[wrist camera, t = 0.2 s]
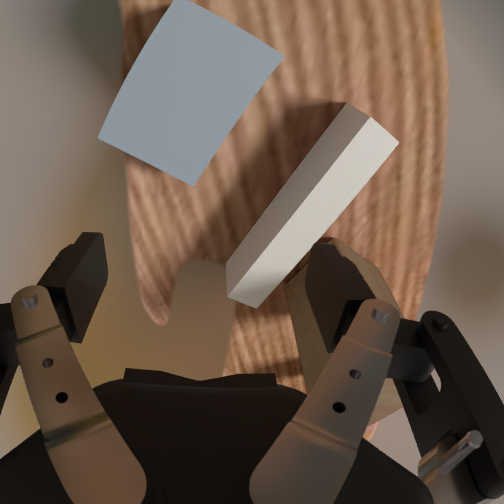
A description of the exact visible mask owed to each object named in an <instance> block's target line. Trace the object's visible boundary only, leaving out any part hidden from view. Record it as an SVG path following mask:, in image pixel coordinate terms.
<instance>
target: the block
mask: <svg viewBox="0 0 504 504" xmlns="http://www.w3.org/2000/svg"><path fill="white" fill-rule="evenodd" d="M284 57H285V56H284V55H282V54H281V53H279V52H278V51H276V50H275V49H273V48H272V47H270V46H269V45H267V44H265V43H264V42H262V41H261V40H259V39H257V38H256V37H254V36H253V35H251V34H249V33H248V32H246V31H244V30H243V29H241V28H239V27H237V26H236V25H234V24H232V23H230V22H229V21H227V20H225V19H223V18H221V17H219V16H218V15H216V14H214V13H212V12H210V11H208V10H206V9H204V8H202V7H200V6H198V5H196V4H194V3H192V2H190V1H188V0H174V1H173V2H172V4H171V5H170V7H169V8H168V10H167V11H166V13H165V14H164V15H163V17H162V18H161V20H160V22H159V23H158V25H157V26H156V28H155V29H154V31H153V32H152V34H151V36H150V37H149V39H148V40H147V42H146V44H145V45H144V47H143V49H142V50H141V52H140V54H139V56H138V57H137V59H136V61H135V63H134V64H133V66H132V68H131V70H130V72H129V73H128V75H127V77H126V79H125V81H124V83H123V85H122V87H121V89H120V91H119V93H118V95H117V96H116V99H115V101H114V103H113V105H112V107H111V109H110V111H109V113H108V115H107V117H106V120H105V122H104V124H103V126H102V129H101V131H100V133H99V135H98V139H100V140H102V141H104V142H106V143H108V144H110V145H112V146H114V147H116V148H118V149H120V150H122V151H124V152H126V153H128V154H130V155H132V156H134V157H136V158H138V159H140V160H142V161H144V162H146V163H148V164H150V165H152V166H154V167H156V168H158V169H160V170H162V171H164V172H166V173H168V174H170V175H172V176H174V177H176V178H177V179H179V180H181V181H183V182H185V183H187V184H189V185H191V186H193V187H194V185H195V184H196V182H197V180H198V179H199V177H200V176H201V174H202V173H203V171H204V169H205V168H206V166H207V165H208V163H209V162H210V160H211V159H212V157H213V156H214V154H215V153H216V151H217V150H218V148H219V147H220V145H221V144H222V142H223V141H224V139H225V138H226V136H227V135H228V133H229V132H230V130H231V129H232V128H233V126H234V125H235V123H236V122H237V120H238V119H239V117H240V116H241V115H242V113H243V112H244V110H245V109H246V108H247V106H248V105H249V103H250V102H251V101H252V99H253V98H254V96H255V95H256V94H257V92H258V91H259V90H260V88H261V87H262V86H263V84H264V83H265V82H266V80H267V79H268V78H269V76H270V75H271V74H272V72H273V71H274V70H275V68H276V67H277V66H278V64H279V63H280V62H281V60H282V59H283V58H284Z"/></svg>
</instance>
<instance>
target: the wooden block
mask: <svg viewBox="0 0 504 504" xmlns="http://www.w3.org/2000/svg"><path fill="white" fill-rule="evenodd" d="M328 243H331V244H334V245H335V246H336V248H337V249H338V251H339V253H340V254H341V256H343V257H347V258H348V259H349V260H351V261H352V262H353V263H354V264H355V265H356V266H357V268H358V270H359V271H360V274H362V276H363V277H364V280H365V281H366V282H367V284H368V285H369V287H370V288H371V290H372V292H373V293H374V295H375V297H376V298H377V299H380V300H383V301H386V302H388V303H390V304H391V305H393V306H394V307H395V308H396V309H397V310H398V311H399V313H400V316H401V318H403V319H405V318H404V316H403V314H402V312H401V310H400V308H399V306H398V304H397V302H396V300H395V298H394V297H393V295H392V293H391V291H390V289H389V287H388V285H387V283H386V281H385V279H384V278H383V276H382V274H381V272H380V270H379V268H378V267H376V266H375V265H373V264H372V263H371V262H369V261H368V260H366V259H365V258H363V257H362V256H360V255H359V254H358V253H356V252H355V251H353V250H352V249H350V248H349V247H347V246H346V245H344V244H343V243H341V242H340V241H339V240H337V239H335V238H332V239H331V240H330V241H329V242H328ZM308 263H309V262H308ZM308 263H307V264H306V265H305V266H304V267H303V268H302V269H301V270H300V271H299V272H298V273H297V274H296V275H295V276H294V277H293V278H292V279H291V280H290V281H289V282H288V283H287V284H286V285H285V292H286V296H287V301H288V305H289V310H290V314H291V319H292V324H293V328H294V333H295V338H296V342H297V347H298V352H299V357H300V362H301V366H302V371H303V376H304V381H305V386H306V391H307V395H308V394H309V392H310V391H311V389H312V388H313V386H314V384H315V383H316V381H317V379H318V378H319V376H320V374H321V373H322V371H323V369H324V368H325V366H326V364H327V363H328V361H329V359H330V357H331V356H332V354H333V353H327V350H326V347H325V344H324V342H323V339H322V336H321V333H320V330H319V328H318V325H317V322H316V319H315V317H314V314H313V311H312V308H311V306H310V303H309V300H308V297H307V295H306V292H305V276H306V272H307V267H308ZM402 407H403V405H402V402H401V400H400V397H399V394H398V392H397V389H396V387H395V384H394V382H393V379H391V378H385V381H384V384H383V386H382V389H381V392H380V395H379V397H378V400H377V403H376V405H375V408H374V410H373V413H372V415H371V418H370V420H369V423H368V425H367V426H370V425H372V424H374V423H376V422H378V421H379V420H381V419H383V418H385V417H387V416H388V415H390V414H392V413H394V412H395V411H397V410H398V409H400V408H402Z"/></svg>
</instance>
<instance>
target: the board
mask: <svg viewBox="0 0 504 504" xmlns="http://www.w3.org/2000/svg"><path fill="white" fill-rule="evenodd" d="M398 144H399V142H398V141H397V140H396V139H395V138H394V137H393V136H392V135H391V134H389V133H388V132H387V131H386V130H385V129H384V128H383V127H382V126H380V125H379V124H378V123H377V122H376V121H375V120H374V119H372V118H371V117H370V116H368V115H367V114H365V113H363V112H362V111H360V110H358V109H357V108H355V107H354V106H352V105H350V104H348V103H346V104H345V106H344V107H343V108H342V109H341V111H340V112H339V113H338V115H337V116H336V117H335V119H334V120H333V121H332V122H331V124H330V125H329V126H328V128H327V129H326V130H325V132H324V133H323V134H322V136H321V137H320V138H319V140H318V141H317V142H316V143H315V145H314V146H313V147H312V149H311V150H310V151H309V153H308V154H307V155H306V157H305V158H304V159H303V161H302V162H301V163H300V165H299V166H298V167H297V168H296V170H295V171H294V172H293V174H292V175H291V176H290V178H289V179H288V180H287V182H286V183H285V184H284V186H283V187H282V188H281V190H280V191H279V192H278V194H277V195H276V196H275V198H274V199H273V200H272V202H271V203H270V204H269V206H268V207H267V208H266V210H265V211H264V212H263V214H262V215H261V216H260V218H259V219H258V220H257V222H256V223H255V225H254V226H253V227H252V229H251V230H250V231H249V233H248V234H247V235H246V237H245V238H244V239H243V241H242V242H241V243H240V245H239V246H238V247H237V249H236V250H235V252H234V253H233V254H232V256H231V257H230V258H229V260H228V261H227V262H226V282H227V283H226V286H227V297H228V298H230V299H233V300H235V301H238V302H241V303H243V304H246V305H249V306H251V307H254V308H256V309H257V308H258V306H259V305H260V304H261V303H262V302H263V301H264V300H265V299H266V298H267V297H268V296H269V294H270V293H271V292H272V291H273V290H274V289H275V288H276V287H277V286H278V284H279V283H280V282H281V281H282V280H283V279H284V278H285V277H286V276H287V274H288V273H289V272H290V271H291V270H292V269H293V268H294V267H295V265H296V264H297V263H298V262H299V261H300V260H301V259H302V258H303V256H304V255H305V254H306V253H307V252H308V251H309V250H310V248H311V247H312V246H313V244H314V243H316V242H317V240H318V239H319V238H320V237H321V236H322V235H323V234H324V232H325V231H326V230H327V229H328V228H329V227H330V225H331V224H332V223H333V222H334V221H335V220H336V218H337V217H338V216H339V215H340V214H341V213H342V211H343V210H344V209H345V208H346V207H347V206H348V204H349V203H350V202H351V201H352V200H353V198H354V197H355V196H356V195H357V194H358V192H359V191H360V190H361V189H362V188H363V186H364V185H365V184H366V183H367V182H368V180H369V179H370V178H371V177H372V176H373V174H374V173H375V172H376V171H377V169H378V168H379V167H380V166H381V165H382V163H383V162H384V161H385V160H386V158H387V157H388V156H389V155H390V154H391V152H392V151H393V150H394V149H395V147H396V146H397V145H398Z"/></svg>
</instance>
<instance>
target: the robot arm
mask: <svg viewBox="0 0 504 504" xmlns="http://www.w3.org/2000/svg"><path fill="white" fill-rule="evenodd" d="M107 279H108V266H107V260H106V253H105V245H104V238H103V235H102V233H98V232H97V233H96V232H83V233H82V234H81V235H80V236H79V238H78V239H77V240H76V242H75V243H74V244H70V245H68V246H67V247H66V248H64V249H63V250H61V251H60V253H59V254H58V255H57V257H56V258H55V260H54V261H53V262H52V263H51V265H50V267H48V269H47V270H46V272H45V273H44V275H43V276H42V278H41V279H40V281H39V282H38V283H37V285H31V286H27V287H24V288H22V289H21V290H19V291H18V292H16V293H15V294H14V296H13V297H12V299H11V303H6V304H0V414H1V411H2V408H3V405H4V402H5V399H6V396H7V394H8V391H9V388H10V385H11V383H12V379H13V377H14V374H15V372H16V369H17V367H18V365H20V367H21V370H22V374H23V377H24V380H25V384H26V387H27V390H28V394H29V397H30V400H31V403H32V406H33V409H34V411H35V414H36V417H37V420H38V422H39V425H40V429H39V430H38V431H36V432H35V433H34V434H32V435H31V436H30V437H28V438H27V439H26V440H25V441H23V442H22V443H21V444H19V445H18V446H17V447H16V448H14V449H13V450H11V451H10V452H9V453H8V454H6V455H5V456H4V457H2V458H1V459H0V504H489V503H491V502H492V501H494V500H496V499H497V498H499V497H500V496H502V495H504V404H503V403H502V401H501V399H500V397H499V395H498V393H497V392H496V390H495V388H494V386H493V385H492V383H491V381H490V379H489V378H488V376H487V374H486V372H485V371H484V369H483V367H482V366H481V364H480V363H479V361H478V359H477V358H476V356H475V354H474V353H473V351H472V349H471V348H470V346H469V345H468V343H467V342H466V340H465V339H464V337H463V335H462V334H461V332H460V331H459V329H458V328H457V326H456V325H455V323H454V322H453V321H452V320H451V319H450V318H449V317H448V316H446V315H445V314H443V313H440V312H437V311H427V312H425V313H424V314H423V315H422V317H421V320H420V321H419V322H418V321H413V320H408V319H403V318H401V316H400V313H399V311H398V310H397V309H396V308H395V307H394V306H393V305H391V304H390V303H388V302H386V301H383V300H380V299H377V298H376V297H375V295H374V293H373V292H372V290H371V288H370V287H369V285H368V284H367V282H366V281H365V280H364V277H363V276H362V274H360V271H359V270H358V268H357V266H356V265H355V264H354V263H353V262H352V261H351V260H349V259H348V258H347V257H343V256H341V254H340V253H339V251H338V249H337V248H336V246H335V245H334V244H331V243H314V244H313V246H312V249H311V254H310V258H309V263H308V267H307V272H306V276H305V292H306V295H307V297H308V300H309V303H310V306H311V308H312V311H313V314H314V317H315V319H316V322H317V325H318V328H319V330H320V333H321V336H322V339H323V342H324V344H325V347H326V350H327V353H333V354H332V356H331V357H330V359H329V361H328V363H327V364H326V366H325V368H324V369H323V371H322V373H321V374H320V376H319V378H318V379H317V381H316V383H315V384H314V386H313V388H312V389H311V391H310V392H309V394H308V395H306V394H304V393H302V392H300V391H298V390H296V389H293V388H291V387H287V386H283V385H279V384H277V381H276V376H275V373H270V374H235V375H230V376H225V377H220V378H214V379H209V380H203V381H197V380H193V379H189V378H185V377H181V376H178V375H174V374H170V373H167V372H163V371H153V370H142V369H132V368H126V369H125V374H124V378H123V379H118V380H114V381H109V382H106V383H103V384H101V385H99V386H96V387H95V388H93V389H92V387H91V385H90V383H89V381H88V379H87V377H86V376H85V374H84V372H83V370H82V368H81V366H80V363H79V361H78V359H77V357H76V355H75V353H74V351H73V349H72V346H71V344H70V342H75V343H82V340H83V338H84V335H85V333H86V330H87V328H88V325H89V323H90V321H91V318H92V316H93V313H94V311H95V309H96V306H97V304H98V302H99V299H100V297H101V295H102V292H103V290H104V288H105V286H106V283H107ZM434 368H435V369H436V371H437V373H438V375H439V377H440V380H441V390H440V392H439V390H438V388H437V386H436V384H435V382H434V380H433V378H432V376H431V373H432V371H433V370H434ZM385 378H391V379H393V382H394V384H395V387H396V389H397V392H398V394H399V397H400V400H401V402H402V405H403V407H404V410H405V413H406V415H407V418H408V421H409V424H410V426H411V429H412V432H413V435H414V438H415V440H416V443H417V446H418V449H419V452H420V455H421V458H422V459H421V460H420V462H419V465H418V476H416V475H414V474H413V473H411V472H410V471H408V470H407V469H406V468H404V467H403V466H401V465H400V464H398V463H397V462H396V461H394V460H393V459H391V458H390V457H389V456H387V455H386V454H385V453H383V452H382V451H380V450H379V449H378V448H376V447H375V446H374V445H372V444H371V443H370V442H368V441H367V440H366V439H364V438H363V435H364V432H365V430H366V428H367V425H368V423H369V420H370V418H371V415H372V413H373V410H374V408H375V405H376V403H377V400H378V397H379V395H380V392H381V389H382V386H383V384H384V381H385Z"/></svg>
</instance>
